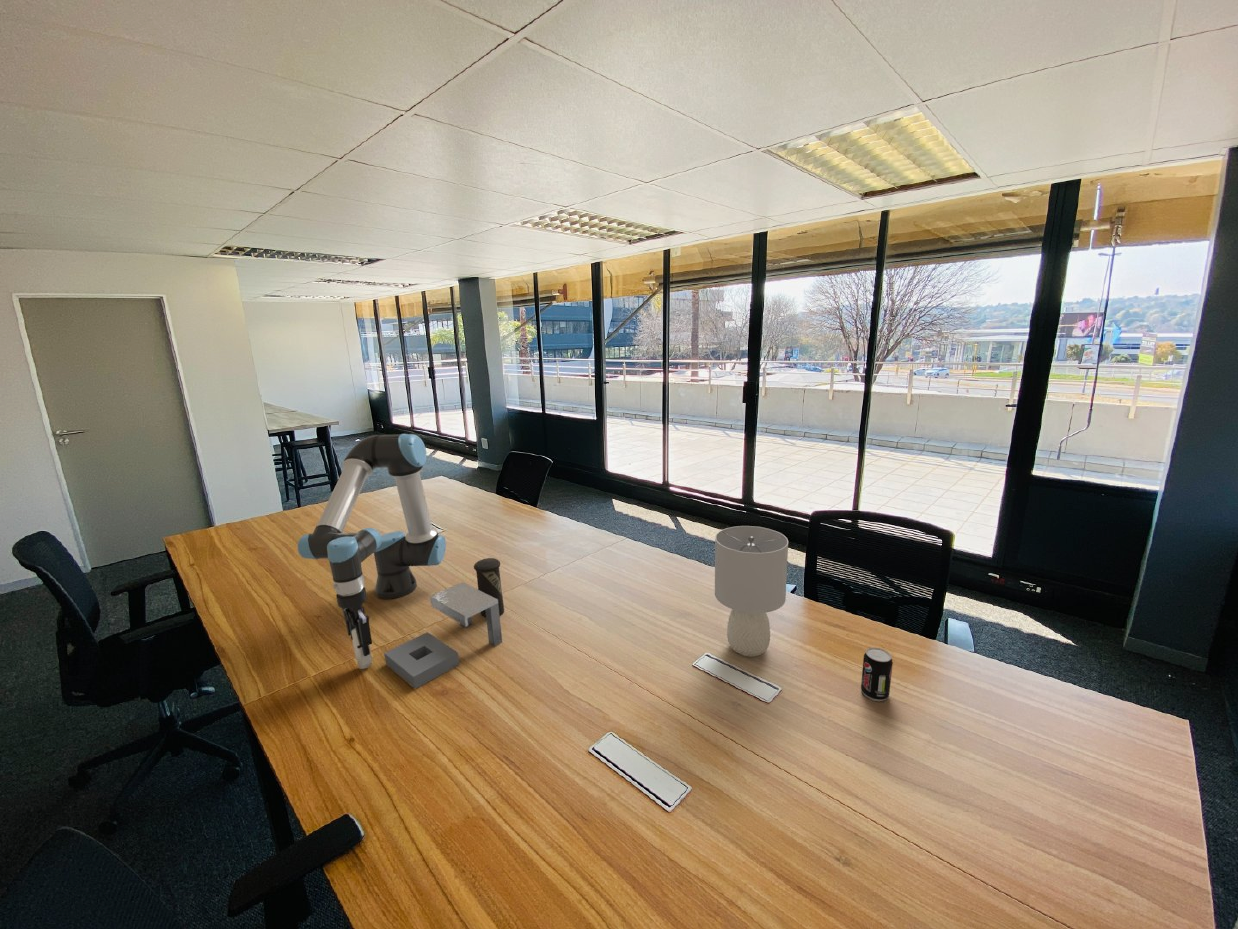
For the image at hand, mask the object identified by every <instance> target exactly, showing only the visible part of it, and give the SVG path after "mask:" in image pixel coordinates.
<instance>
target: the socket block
mask: <svg viewBox="0 0 1238 929" xmlns="http://www.w3.org/2000/svg"><path fill="white" fill-rule="evenodd" d="M383 656H384V660H385V665H386V666H387V667H388V668H390V670H392V671H393V672H394V673H395V674H396V675H398V676H399V677H400V678H401V679H403V680H404V681H405V682H406V683H408V685H409V686H411V687H412V688H414V690H417V689H419V688H420V687H422V686H424V685H425V684H428V683H429V682H431V681H433V680H434V679H436V678H439V676H441V675H443V674H445V673H447V672H448V671H450V670H452V669H454V668H455V667H457V666H459V665H460V659H459V658H460V657H459V652H458V651H456V649H453V647H450V646H449V645H447V644H446V643H444V642H443V641H441V640H440V639H438V638H437V637H436V636H435V635H432V634H431V633H429V632H428V631H427V632H425V633H422V634H420V635H418V636H416V637H414V638H411V640H408V641H406V642H404V643H402V644H400V645H398V646H396V647H394V648H391V649H389V650H388V651H385V652H384V655H383Z"/></svg>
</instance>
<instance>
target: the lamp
mask: <svg viewBox="0 0 1238 929" xmlns="http://www.w3.org/2000/svg"><path fill="white" fill-rule="evenodd" d="M788 550H789V540H788V537H786V536H785V535H784V534H783V533H782V532H779V531H776V530H773V529H770V528H766V527H762V526H755V525H754V526H752V525H751V526H750V525H740V526H739V525H738V526H732V527H730V526H729V527H727V528H724V529H721V530H719V531H718V532H717V533H715V538H714V597H715V599H716V600H717V601H718V602H719V603H720V604H722V605H723V606H725V607H727V608H729V609H730V610H731V611H730V613H729V615H728V621H727V627H726V636H727V637H726V638H727V642H728V645H729V647H730V648H731V649H732V650H733V651H734V652H735V653H737V654H739V655H741V656H743V657H744V656H745V657H749V658H751V657H754V658H755V657H758V656H760V655H762V654H764V653H765V652H767V650H768V648H769V646H770V641H771V625H770V620H769V616H768V614H767V613H772V612H775V611H776V610H778V609H781V608H782V607H783V606H784V605H785V603H786V601H787V600H786V596H787V594H786V593H787V580H788V579H787V577H788V576H787V575H788V574H787V573H788V554H789V551H788Z"/></svg>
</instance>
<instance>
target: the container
mask: <svg viewBox="0 0 1238 929" xmlns="http://www.w3.org/2000/svg"><path fill="white" fill-rule="evenodd" d="M500 566H501V562H500V560H499V559H497V558H493V557H488V558H483V559H479V560H478V561H477V562H475V563H474V565H473V570H474V571H476V572H475V573H476V581H477V589H478V590H480V591H482V592H484V593H486V594H488V595H490V596H492V597H494V598H496V599H498V606H499V615H500V616H502V615H503V614H504V613H505V606H504V597H503V590H502V580H501V573H500ZM479 614H480V616H481V617H483V618H484V619H486V612H485V610H483V611H481V612H479Z"/></svg>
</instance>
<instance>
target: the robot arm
mask: <svg viewBox="0 0 1238 929" xmlns="http://www.w3.org/2000/svg"><path fill="white" fill-rule="evenodd" d="M427 458H428V456H427V450H426V446H425V443H424V441H423V440H422V438H421V437H419V436H418V435H417V434H412V433H411V434H408V433H401V434H400V433H399V434H374V435H370V436H367V437H366V438H363V439H362V440H360V441H359V442H358V443H357V444H355V445H354V446H353V447H352V448H351V449H350V451H348V453H347V454H346V456H345V458H344V460H343V462H342V466H341V467H342V468H343V469H342V471H341V474H340V476H339V477H338V480H337V483H336V485H335V486H334V489H333V491H332V493H331V495H330V496H329V498H328V501H327V503H326V505H325V507H324V509H323V511H322V514H321V516H320V518H319V520H318V522H317V524H316V526H315V528H314V530H313V532H311V533H307V534H303V535H302V536H301V537H300V538H299V539H298V543H297V552H298V554H299V555H300V556H301V558H303V559H308V560H309V559H310V560H322V559H328V562H329V563H328V564H329V566H330V570H331V576H332V580H333V584H332V589H334V590H335V593H336V595H335V597H336V602H337V606H338V607H339V608H341V610H342V613H343V617H344V621H345V626H346V631H347V635H348V636H349V637H350V639H351V640H352V641H351V642H352V647H353V651H354V657H355V660H356V661H357V658H356V653H355V648H354V643H353V638H352V633H351V631H352V630H353V629H354V628H355V629H356V633H357V637H358V641H359V646H357V648H358V649H359V652H360V657H361V662H362V666H365V665H367V664H369V663H372V662H373V657H372V651H371V646H370V645H372V644H373V641H372V640H373V639H372V633H371V627H370V616H369V615H368V614H367V615H365V613H366V611H365V608H364V606H363V604H364V603H365V602H366V601H367V600H368V599H367V598H368V597H367V596H368V595H367V591H366V590H367V588H366V583H365V578H364V577H365V576H364V573H363V568H362V563H363V562H364V561H365V560H366V559H368V557H370V556H371V555H372V554H373V555H374V562H375V567H376V572H377V578H376V583H375V586H374V592H375V596H376V597H377V598H379V599H384V600H391V599H398V598H401V597H403V596H407V595H409V594H410V593H412V592H413V591H415V590H416V589H417V586H418V584H417V580H416V577H415V576H414V574H413V572H412V570H411V568H410V567H422V566H423V567H430V566H431V567H433V566H438V565H440V564H441V563H442V561H443V560H444V557H445V553H446V550H447V549H446V547H447V543H446V542H447V540H446V537H445V536H444V535H442V534H439V533H438V529H437V528H436V527H434V526H432V520H431V517H430V512H429V509H428V508H429V507H428V503H427V499H426V495H425V491H424V486H423V482H422V481H423V480H422V476H421V474H420V473H421V472H422V470H423V469H424V465H425V464H426V463H427V462H426V461H427ZM378 468H382V469H383V468H387V469H386V470H387V471H388V475H389V476H390V477H393V478H394V480H395V485H396V488H397V493H398V496H399V500H400V504H401V507H402V508H401V509H402V512H403V516H404V520H405V525H406V528H407V534H405V532H404V531H401V530H399V531H398V530H395V531H392V532H388V533H387V532H386V533H385V534H382V535H381V533H380V532H379V531H378V530H376V528H372V527H365V528H362V529H361V530H359V531H358V532H344V530H345V527H346V525H347V523H348V521H349V519H350V517H351V515H352V514H351V513H352V512H353V509H354V506H355V505H356V503H357V500H358V497H359V496H360V494H361V491H362V489H363V486H364V484H365V482H366V479H367V478H368V477H370V476H372V474H373V471H374V470H376V469H378Z"/></svg>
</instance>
